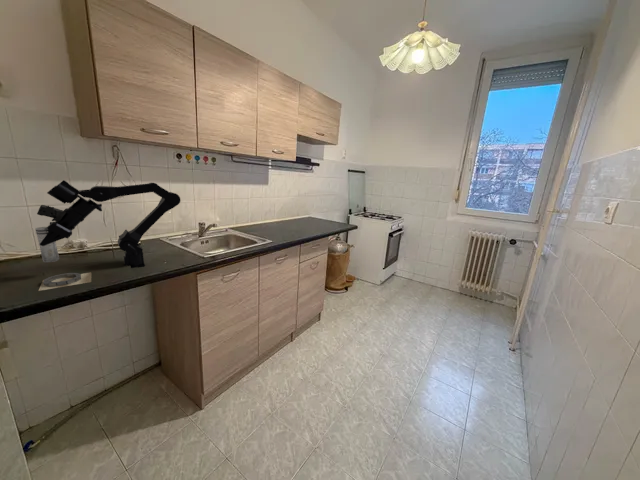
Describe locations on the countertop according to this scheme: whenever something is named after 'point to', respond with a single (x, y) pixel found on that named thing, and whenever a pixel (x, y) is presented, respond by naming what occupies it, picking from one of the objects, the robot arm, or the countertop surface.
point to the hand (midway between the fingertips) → (42, 243)
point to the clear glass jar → (47, 246)
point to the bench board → (84, 279)
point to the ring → (51, 284)
